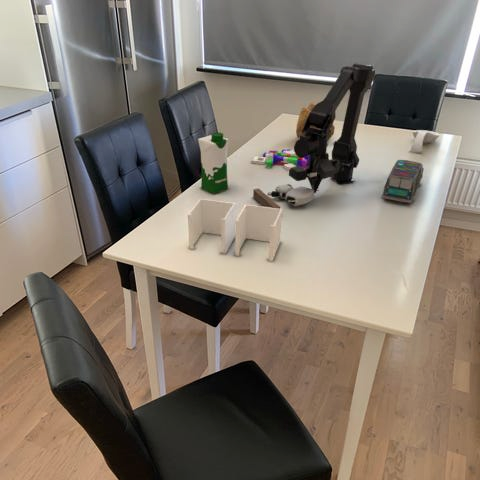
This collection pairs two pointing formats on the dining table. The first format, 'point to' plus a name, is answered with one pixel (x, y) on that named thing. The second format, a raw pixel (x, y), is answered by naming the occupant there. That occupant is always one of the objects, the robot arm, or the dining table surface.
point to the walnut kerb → (264, 199)
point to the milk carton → (214, 162)
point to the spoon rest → (422, 139)
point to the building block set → (282, 159)
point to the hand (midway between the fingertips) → (314, 193)
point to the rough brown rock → (302, 120)
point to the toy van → (403, 181)
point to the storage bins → (223, 223)
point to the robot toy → (293, 194)
